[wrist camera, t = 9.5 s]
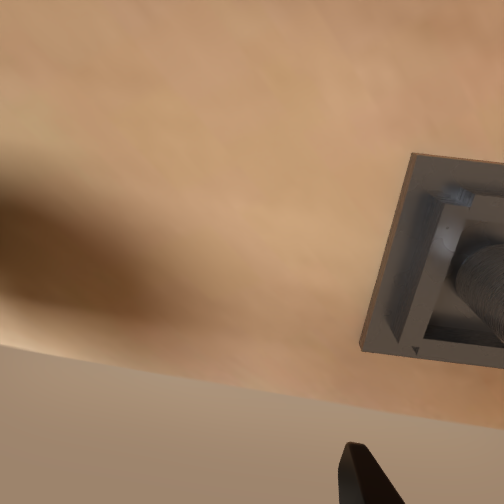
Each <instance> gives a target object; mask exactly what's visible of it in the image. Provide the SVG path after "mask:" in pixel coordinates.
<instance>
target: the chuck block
mask: <svg viewBox="0 0 504 504" xmlns="http://www.w3.org/2000/svg"><path fill="white" fill-rule="evenodd" d="M497 244H504V163H498V162H489V161H480V160H472V159H463V158H454V157H446V156H437V155H428V154H419V153H412V154H411V157H410V161H409V165H408V168H407V172H406V175H405V179H404V183H403V186H402V190H401V193H400V197H399V201H398V204H397V208H396V211H395V215H394V219H393V222H392V226H391V230H390V233H389V237H388V240H387V244H386V248H385V251H384V255H383V258H382V262H381V266H380V269H379V273H378V276H377V280H376V284H375V287H374V291H373V294H372V298H371V302H370V305H369V309H368V312H367V316H366V320H365V323H364V327H363V331H362V334H361V338H360V341H359V345H360V348H361V351H363V352H371V353H379V354H387V355H395V356H403V357H412V358H420V359H428V360H436V361H444V362H452V363H460V364H468V365H477V366H485V367H493V368H501V369H504V343H503V342H502V341H501V340H500V339H499V338H498V337H497V336H496V335H495V334H494V333H493V332H492V331H491V330H490V329H489V328H488V327H487V326H486V324H485V323H484V322H483V321H482V320H481V319H480V318H479V317H478V316H477V315H476V314H475V313H474V312H473V311H472V310H471V309H470V308H469V307H468V306H467V305H466V303H465V302H464V301H463V300H462V299H461V298H460V297H459V295H458V293H457V290H456V277H457V274H458V271H459V269H460V268H461V266H462V265H463V263H464V262H465V261H466V260H467V259H468V258H469V257H470V256H471V255H473V254H474V253H475V252H477V251H479V250H481V249H483V248H485V247H488V246H492V245H497Z"/></svg>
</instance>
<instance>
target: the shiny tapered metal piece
mask: <svg viewBox="0 0 504 504" xmlns="http://www.w3.org/2000/svg"><path fill="white" fill-rule="evenodd" d="M456 290H457V293H458V295H459V297H460V298H461V299H462V300H463V301H464V302H465V303H466V305H467V306H468V307H469V308H470V309H471V310H472V311H473V312H474V313H475V314H476V315H477V316H478V317H479V318H480V319H481V320H482V321H483V322H484V323H485V324H486V326H487V327H488V328H489V329H490V330H491V331H492V332H493V333H494V334H495V335H496V336H497V337H498V338H499V339H500V340H501V341H502V342H503V343H504V244H497V245H492V246H488V247H485V248H483V249H481V250H479V251H477V252H475V253H474V254H473V255H471V256H470V257H469V258H468V259H467V260H466V261H465V262H464V263H463V265H462V266H461V268H460V269H459V271H458V274H457V277H456Z"/></svg>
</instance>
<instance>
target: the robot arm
mask: <svg viewBox="0 0 504 504" xmlns="http://www.w3.org/2000/svg"><path fill="white" fill-rule="evenodd" d="M338 485H339V503H340V504H405V503H404V501H403V500H402V498H401V497H400V495H399V494H398V492H397V491H396V489H395V488H394V486H393V485H392V483H391V482H390V480H389V479H388V477H387V476H386V475H385V473H384V472H383V470H382V469H381V467H380V466H379V464H378V463H377V461H376V460H375V458H374V457H373V455H372V454H371V452H370V451H369V449H368V448H367V447H366V446H365V445H364V444H360V443H354V442H348V443H347V444H346V445H345V448H344V451H343V454H342V457H341V460H340V463H339V468H338Z"/></svg>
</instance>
